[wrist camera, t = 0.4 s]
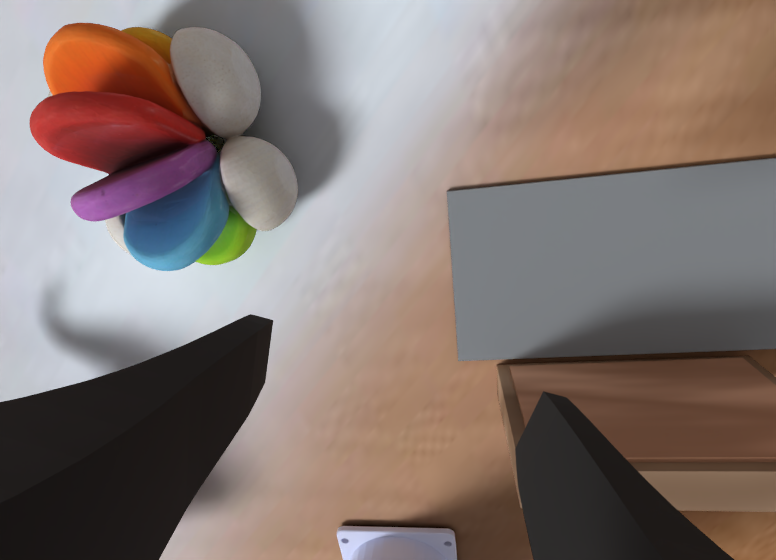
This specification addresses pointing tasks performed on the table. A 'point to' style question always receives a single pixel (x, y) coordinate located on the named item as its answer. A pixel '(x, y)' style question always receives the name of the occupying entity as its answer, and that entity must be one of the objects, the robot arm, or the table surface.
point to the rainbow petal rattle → (164, 141)
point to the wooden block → (667, 422)
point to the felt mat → (617, 263)
